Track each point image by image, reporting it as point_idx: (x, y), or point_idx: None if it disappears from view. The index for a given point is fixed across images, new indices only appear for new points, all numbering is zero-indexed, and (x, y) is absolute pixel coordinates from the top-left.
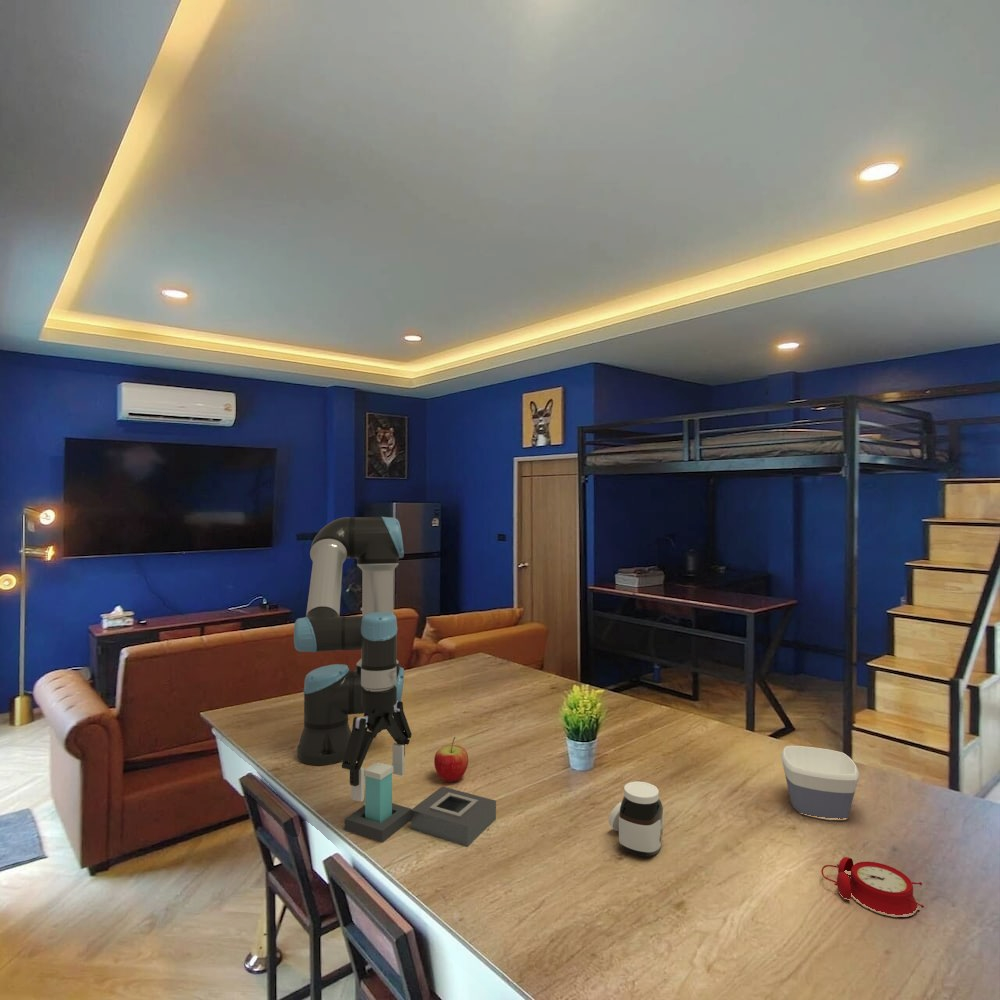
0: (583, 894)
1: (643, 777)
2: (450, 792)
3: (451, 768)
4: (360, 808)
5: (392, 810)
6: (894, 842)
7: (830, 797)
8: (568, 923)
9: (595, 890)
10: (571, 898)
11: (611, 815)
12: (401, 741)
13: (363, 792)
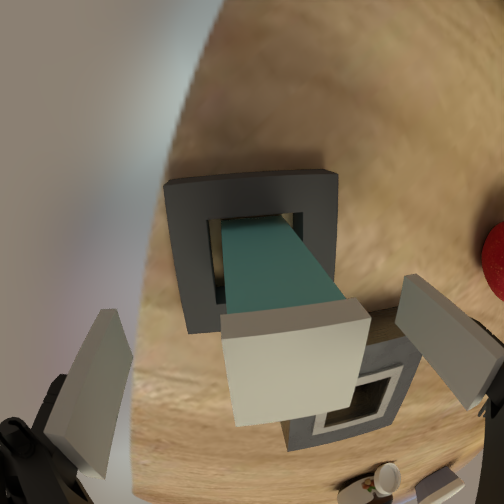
0: (260, 494)
1: None
2: (407, 361)
3: (497, 287)
4: (250, 180)
5: None
6: (396, 500)
7: (418, 500)
8: (214, 499)
9: (271, 495)
10: (248, 493)
11: (378, 483)
12: (489, 412)
13: (124, 382)
